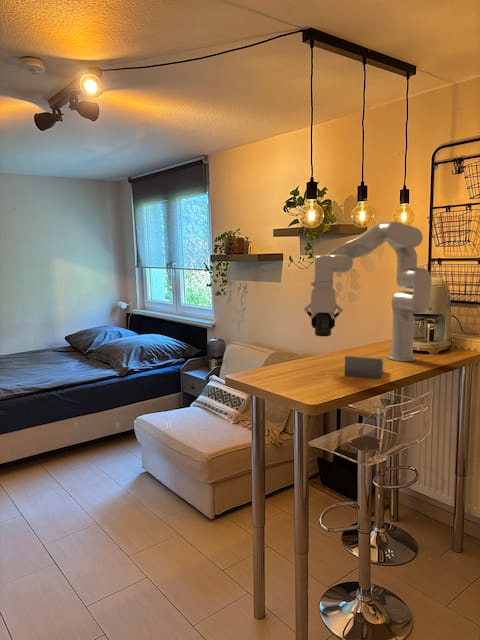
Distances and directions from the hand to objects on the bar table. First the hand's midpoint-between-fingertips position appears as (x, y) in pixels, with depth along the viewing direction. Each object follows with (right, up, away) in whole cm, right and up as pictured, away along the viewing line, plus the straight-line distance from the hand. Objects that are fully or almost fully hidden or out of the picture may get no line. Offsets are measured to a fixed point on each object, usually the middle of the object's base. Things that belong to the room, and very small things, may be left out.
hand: (323, 327), depth 195 cm
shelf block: (+16, -19, -6) cm, 25 cm away
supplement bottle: (0, -3, 0) cm, 4 cm away
